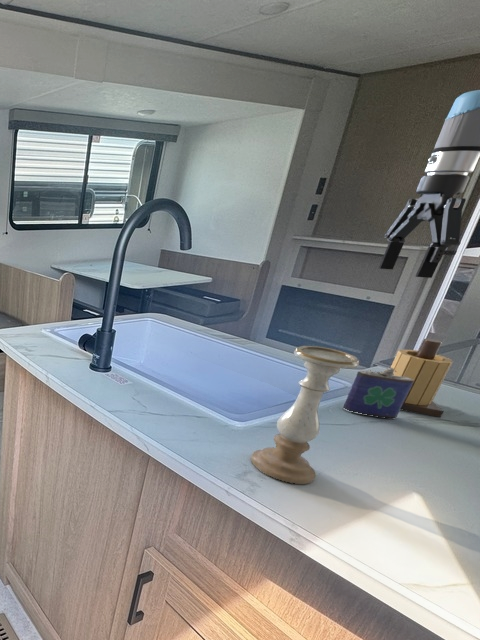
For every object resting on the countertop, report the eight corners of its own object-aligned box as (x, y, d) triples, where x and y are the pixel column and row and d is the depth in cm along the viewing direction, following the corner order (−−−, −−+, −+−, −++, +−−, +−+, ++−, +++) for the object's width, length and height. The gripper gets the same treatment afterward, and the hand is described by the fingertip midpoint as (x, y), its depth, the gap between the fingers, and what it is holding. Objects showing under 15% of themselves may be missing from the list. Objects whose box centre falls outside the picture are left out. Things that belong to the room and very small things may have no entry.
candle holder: (318, 470, 71) (369, 355, 62) (307, 492, 65) (362, 369, 57) (258, 448, 76) (297, 340, 68) (243, 467, 71) (284, 351, 62)
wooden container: (422, 395, 98) (443, 354, 94) (436, 408, 92) (460, 365, 88) (375, 386, 102) (393, 347, 98) (386, 399, 95) (406, 357, 91)
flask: (392, 415, 91) (415, 369, 87) (399, 421, 89) (423, 374, 84) (340, 407, 94) (359, 361, 90) (345, 412, 92) (365, 366, 87)
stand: (422, 400, 99) (454, 339, 93) (440, 417, 91) (476, 351, 85) (368, 390, 104) (395, 331, 98) (380, 405, 96) (410, 342, 90)
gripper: (390, 177, 106) (355, 264, 114) (471, 170, 84) (421, 279, 92) (426, 178, 104) (388, 267, 113) (518, 171, 82) (463, 282, 90)
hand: (403, 273), depth 102 cm, fingers open, 13 cm apart
